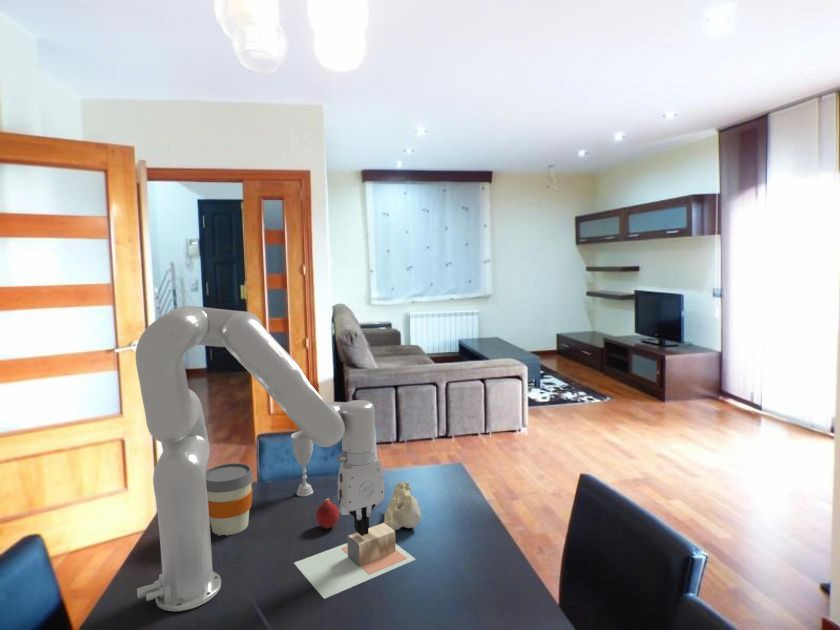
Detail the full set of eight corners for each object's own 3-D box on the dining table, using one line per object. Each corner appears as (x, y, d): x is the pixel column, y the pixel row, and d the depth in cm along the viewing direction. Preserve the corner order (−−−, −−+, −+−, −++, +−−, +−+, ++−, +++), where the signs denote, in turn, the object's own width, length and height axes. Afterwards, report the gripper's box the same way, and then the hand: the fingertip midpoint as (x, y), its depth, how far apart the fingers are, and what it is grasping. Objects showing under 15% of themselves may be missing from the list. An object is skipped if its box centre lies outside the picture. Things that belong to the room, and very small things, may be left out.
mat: (324, 601, 105) (324, 598, 105) (293, 564, 118) (293, 562, 118) (416, 561, 118) (415, 558, 118) (379, 532, 131) (379, 530, 131)
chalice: (313, 497, 152) (311, 438, 150) (290, 498, 152) (287, 438, 150) (318, 487, 159) (316, 430, 157) (296, 487, 159) (294, 430, 157)
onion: (334, 535, 130) (333, 505, 129) (313, 533, 131) (312, 503, 130) (342, 524, 136) (341, 495, 135) (322, 522, 137) (320, 493, 136)
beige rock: (411, 551, 126) (443, 498, 133) (390, 533, 124) (423, 481, 132) (385, 542, 139) (415, 494, 146) (366, 526, 137) (397, 478, 145)
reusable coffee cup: (202, 543, 128) (199, 485, 126) (206, 520, 139) (203, 466, 138) (255, 533, 132) (252, 477, 130) (254, 512, 143) (252, 460, 142)
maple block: (357, 545, 115) (395, 531, 121) (347, 536, 119) (383, 522, 125) (358, 566, 115) (395, 551, 121) (347, 556, 120) (384, 542, 125)
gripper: (337, 468, 109) (340, 550, 111) (395, 452, 118) (398, 528, 120) (321, 458, 115) (325, 536, 117) (378, 443, 124) (381, 516, 126)
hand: (361, 532), depth 118 cm, fingers closed
